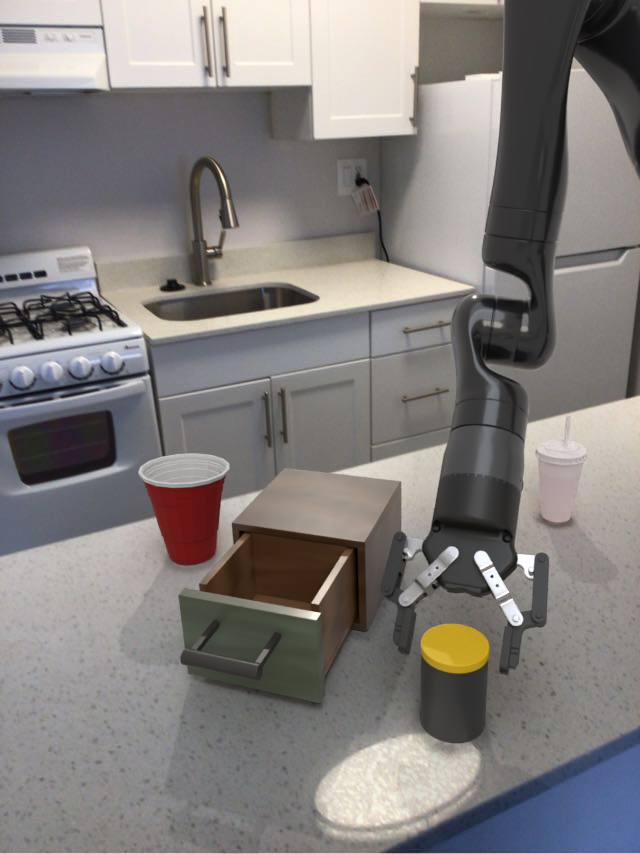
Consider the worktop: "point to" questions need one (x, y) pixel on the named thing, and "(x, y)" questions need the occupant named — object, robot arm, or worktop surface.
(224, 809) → the worktop surface
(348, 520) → the cabinet
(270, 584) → the drawer
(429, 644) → the canister
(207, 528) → the plastic cup
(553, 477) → the smoothie
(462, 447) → the robot arm
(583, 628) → the worktop surface
